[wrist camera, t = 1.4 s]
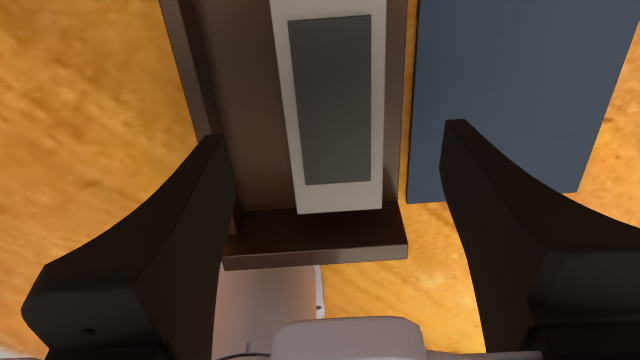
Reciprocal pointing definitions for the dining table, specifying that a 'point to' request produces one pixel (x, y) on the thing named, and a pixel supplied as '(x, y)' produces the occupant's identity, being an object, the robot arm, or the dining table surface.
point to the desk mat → (516, 82)
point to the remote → (333, 99)
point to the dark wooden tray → (278, 138)
